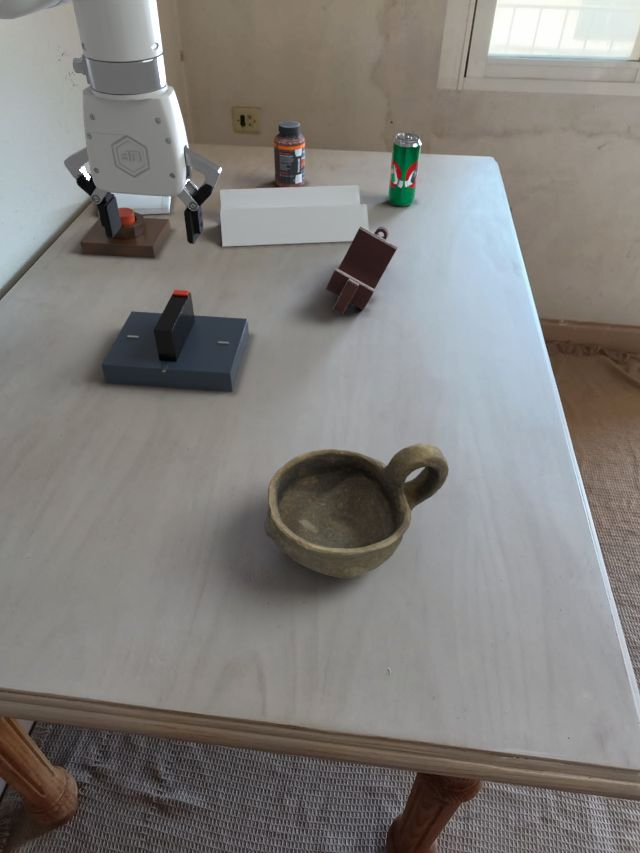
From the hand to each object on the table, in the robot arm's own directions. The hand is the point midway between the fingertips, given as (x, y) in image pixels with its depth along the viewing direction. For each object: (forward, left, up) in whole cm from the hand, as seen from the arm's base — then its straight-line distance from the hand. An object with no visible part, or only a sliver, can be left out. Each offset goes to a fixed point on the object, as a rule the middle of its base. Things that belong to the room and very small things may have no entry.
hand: (154, 235), depth 74 cm
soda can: (+31, +50, -16) cm, 61 cm away
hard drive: (-18, +42, -16) cm, 49 cm away
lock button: (-15, +28, -12) cm, 34 cm away
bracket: (+25, +16, -16) cm, 34 cm away
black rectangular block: (+2, -3, -13) cm, 13 cm away
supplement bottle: (+9, +56, -16) cm, 59 cm away
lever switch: (+2, -3, -16) cm, 16 cm away
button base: (-15, +28, -16) cm, 36 cm away
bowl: (+26, -29, -16) cm, 42 cm away
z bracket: (+12, +37, -16) cm, 42 cm away
